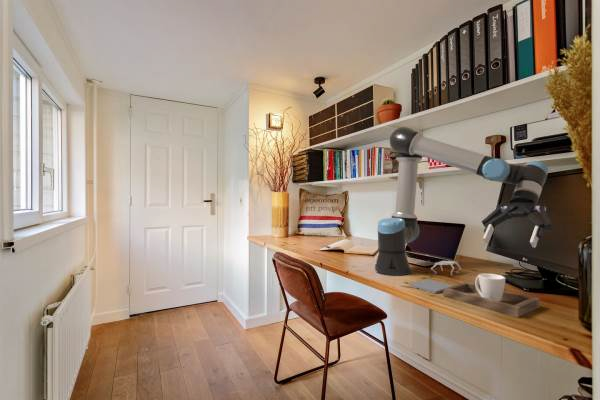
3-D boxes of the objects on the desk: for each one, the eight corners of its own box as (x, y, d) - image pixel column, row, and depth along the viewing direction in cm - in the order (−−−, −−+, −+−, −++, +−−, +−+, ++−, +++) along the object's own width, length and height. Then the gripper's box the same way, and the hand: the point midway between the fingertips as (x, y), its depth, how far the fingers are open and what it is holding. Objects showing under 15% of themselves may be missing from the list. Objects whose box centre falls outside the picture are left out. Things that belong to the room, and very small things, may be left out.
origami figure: (445, 269, 129) (445, 258, 129) (462, 273, 121) (462, 262, 121) (425, 273, 124) (425, 261, 124) (442, 277, 117) (442, 265, 117)
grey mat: (408, 286, 106) (408, 283, 106) (427, 281, 112) (427, 279, 112) (435, 293, 97) (435, 291, 97) (454, 288, 103) (454, 285, 103)
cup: (490, 307, 84) (489, 279, 84) (466, 296, 94) (465, 271, 94) (512, 306, 84) (511, 278, 85) (486, 295, 94) (485, 270, 94)
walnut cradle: (443, 296, 94) (443, 288, 94) (466, 289, 101) (465, 282, 101) (518, 317, 76) (517, 308, 76) (539, 307, 83) (539, 298, 83)
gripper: (575, 202, 94) (559, 254, 86) (491, 204, 115) (473, 245, 107) (568, 186, 91) (551, 238, 83) (484, 191, 112) (464, 232, 104)
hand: (507, 242), depth 95 cm, fingers open, 13 cm apart
